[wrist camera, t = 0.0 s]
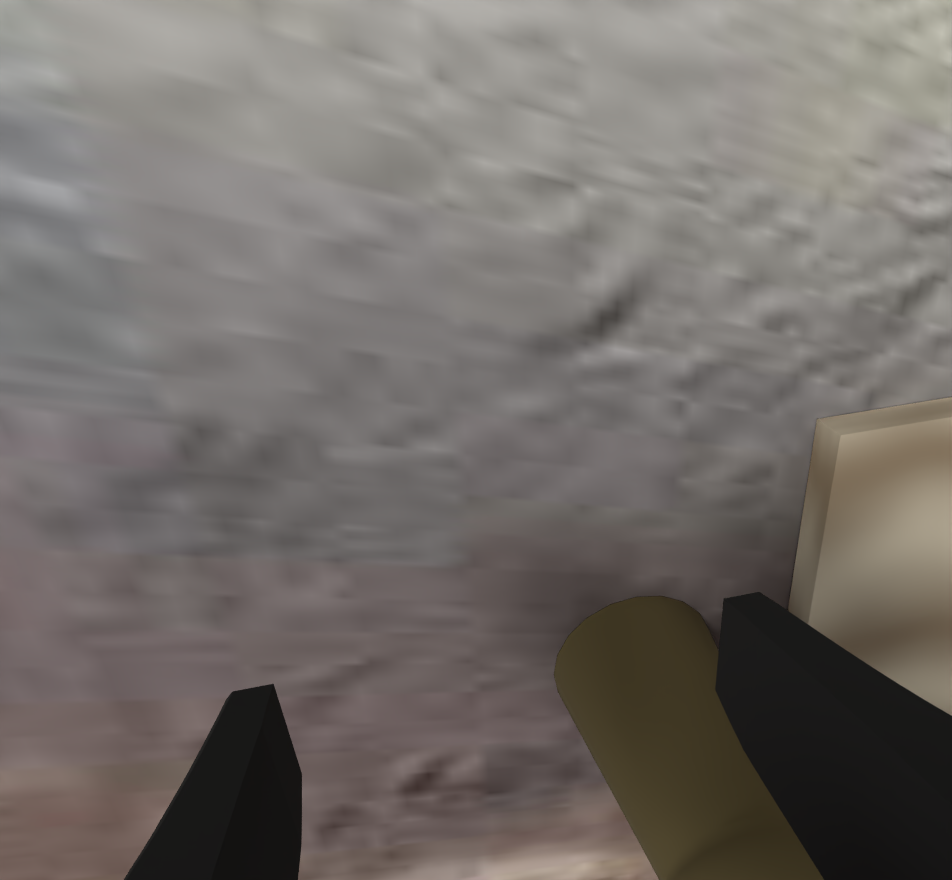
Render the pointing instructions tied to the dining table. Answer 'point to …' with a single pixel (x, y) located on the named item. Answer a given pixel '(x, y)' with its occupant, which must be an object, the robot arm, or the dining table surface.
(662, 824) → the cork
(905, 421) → the birch board
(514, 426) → the dining table surface
